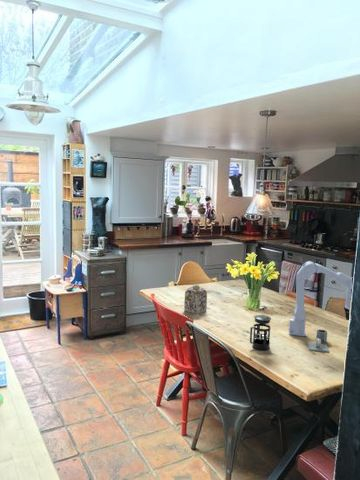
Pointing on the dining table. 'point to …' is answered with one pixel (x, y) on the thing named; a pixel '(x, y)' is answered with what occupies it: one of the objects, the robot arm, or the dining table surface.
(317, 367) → the dining table surface
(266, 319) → the french press
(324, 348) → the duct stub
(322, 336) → the collar
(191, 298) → the decorative jar
